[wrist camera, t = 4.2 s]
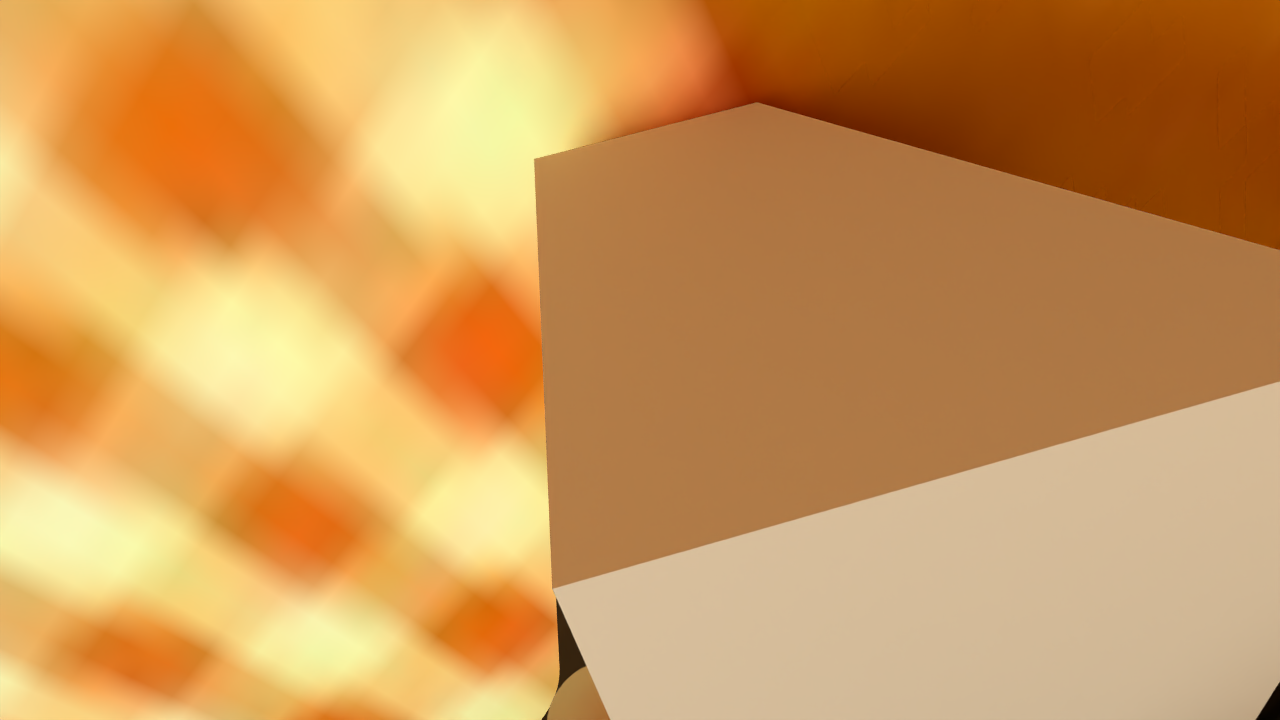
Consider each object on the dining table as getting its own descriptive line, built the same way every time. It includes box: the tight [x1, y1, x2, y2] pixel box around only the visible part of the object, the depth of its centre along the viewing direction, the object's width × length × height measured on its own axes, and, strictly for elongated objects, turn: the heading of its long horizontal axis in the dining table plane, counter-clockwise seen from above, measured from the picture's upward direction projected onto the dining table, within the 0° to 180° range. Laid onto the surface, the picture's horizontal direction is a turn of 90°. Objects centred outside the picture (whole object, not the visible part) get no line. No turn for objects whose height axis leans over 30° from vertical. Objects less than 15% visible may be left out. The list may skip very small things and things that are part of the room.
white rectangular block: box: [534, 102, 1280, 720], centre depth 9 cm, size 12×4×9 cm, turn 12°
